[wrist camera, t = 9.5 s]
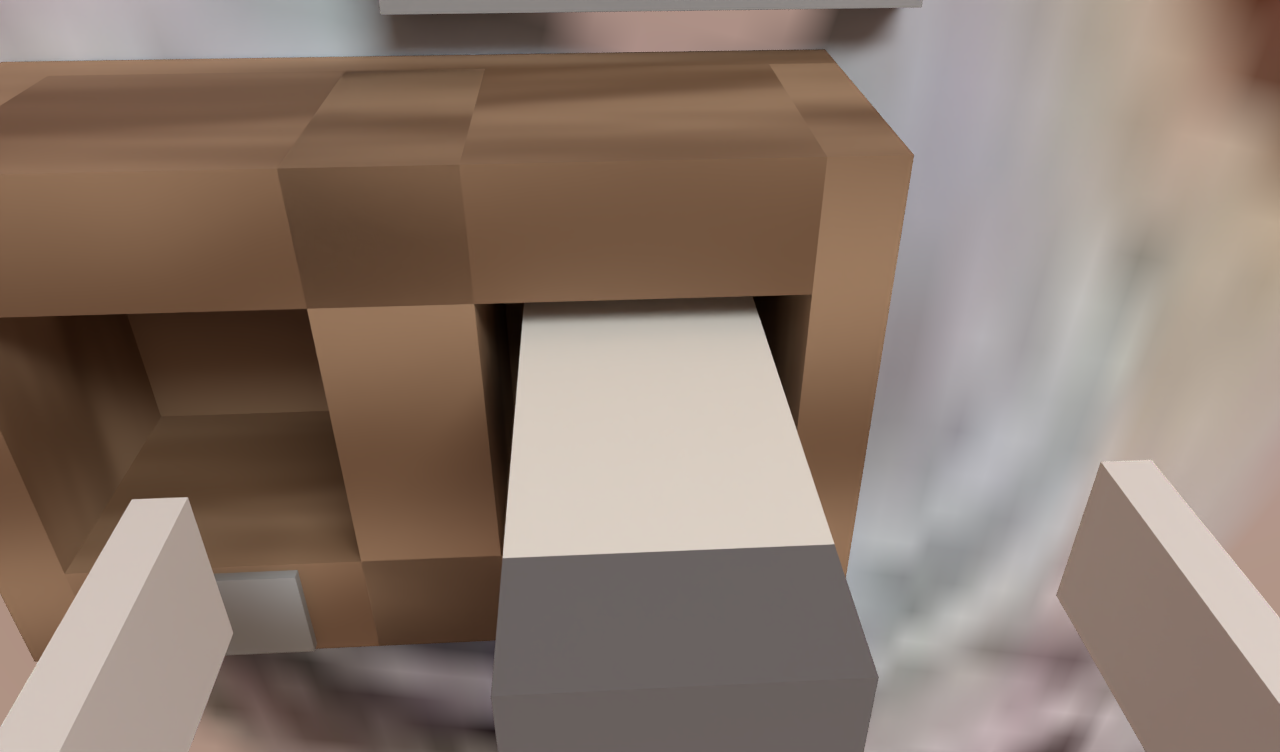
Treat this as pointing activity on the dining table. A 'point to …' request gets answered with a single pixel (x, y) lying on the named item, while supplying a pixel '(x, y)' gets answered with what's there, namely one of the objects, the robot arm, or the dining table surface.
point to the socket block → (394, 301)
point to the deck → (621, 5)
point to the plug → (667, 545)
